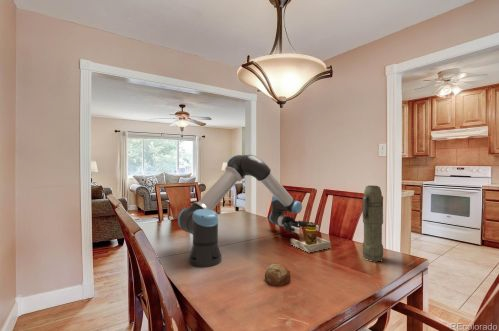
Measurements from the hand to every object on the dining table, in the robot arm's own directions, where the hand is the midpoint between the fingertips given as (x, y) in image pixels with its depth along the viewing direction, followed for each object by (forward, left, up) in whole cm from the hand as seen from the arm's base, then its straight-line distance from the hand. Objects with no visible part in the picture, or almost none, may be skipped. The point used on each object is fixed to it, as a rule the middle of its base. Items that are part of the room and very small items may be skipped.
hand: (308, 229), depth 143 cm
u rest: (-1, 0, -9) cm, 9 cm away
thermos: (-20, -25, -9) cm, 34 cm away
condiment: (-1, 0, -8) cm, 9 cm away
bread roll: (-40, +24, -9) cm, 47 cm away
